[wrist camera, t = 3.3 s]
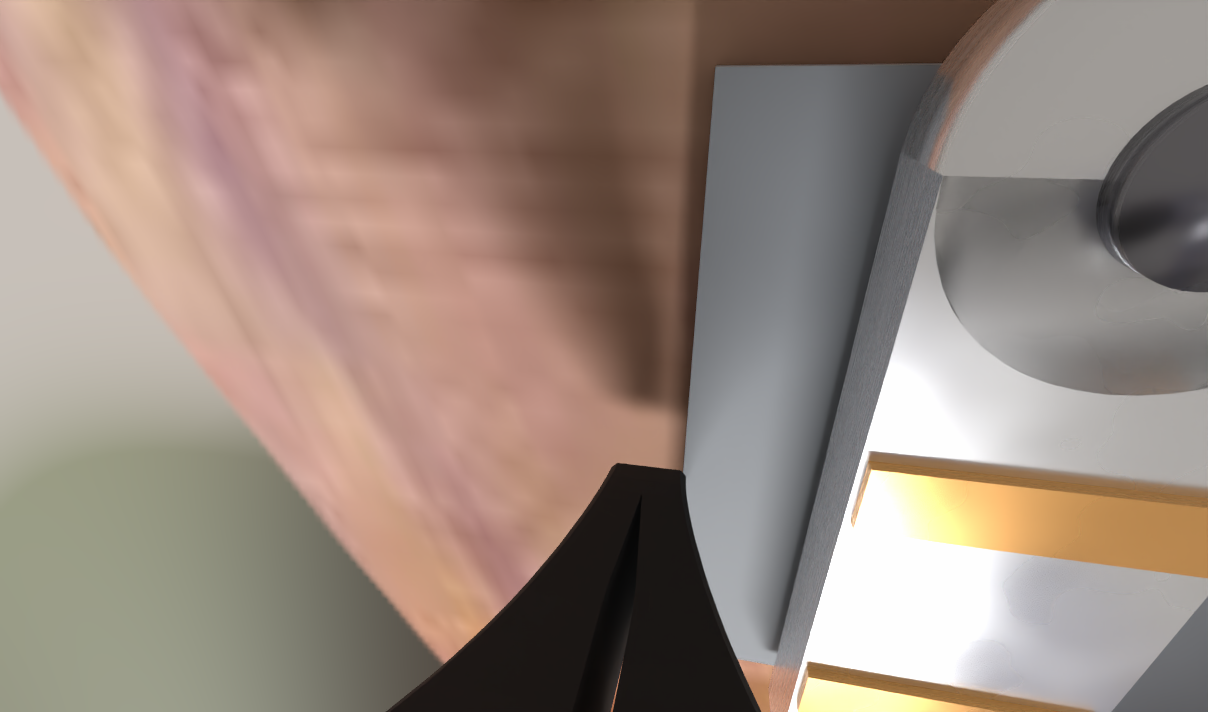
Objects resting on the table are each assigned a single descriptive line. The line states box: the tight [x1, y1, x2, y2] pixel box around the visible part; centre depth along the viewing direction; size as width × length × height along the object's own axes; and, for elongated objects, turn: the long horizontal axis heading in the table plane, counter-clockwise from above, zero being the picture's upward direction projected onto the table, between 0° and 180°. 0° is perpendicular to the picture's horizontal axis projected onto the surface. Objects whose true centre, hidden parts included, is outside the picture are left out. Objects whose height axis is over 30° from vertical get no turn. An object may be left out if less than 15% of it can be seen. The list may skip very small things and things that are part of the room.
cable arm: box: [769, 0, 1208, 712], centre depth 8 cm, size 15×5×2 cm, turn 0°
